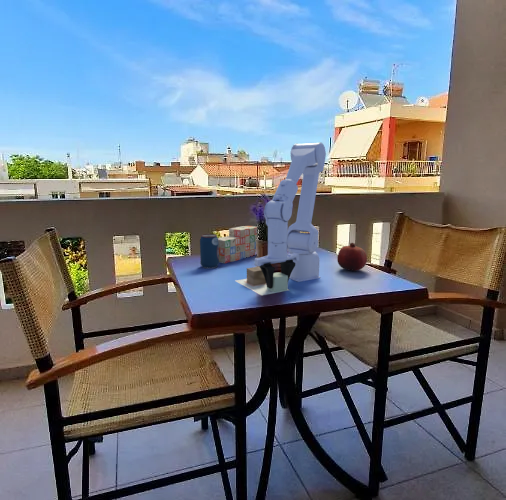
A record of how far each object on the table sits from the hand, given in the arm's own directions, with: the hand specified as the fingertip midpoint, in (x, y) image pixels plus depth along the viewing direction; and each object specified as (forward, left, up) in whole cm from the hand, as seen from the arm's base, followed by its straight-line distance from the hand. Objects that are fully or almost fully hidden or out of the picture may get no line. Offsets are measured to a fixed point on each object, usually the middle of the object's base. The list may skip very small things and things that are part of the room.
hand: (277, 286), depth 112 cm
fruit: (-36, -6, -2) cm, 37 cm away
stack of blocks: (-10, -45, -2) cm, 46 cm away
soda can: (+6, -37, -2) cm, 38 cm away
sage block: (0, 0, -1) cm, 1 cm away
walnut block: (+2, -9, -1) cm, 9 cm away
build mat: (+2, -6, -1) cm, 6 cm away
